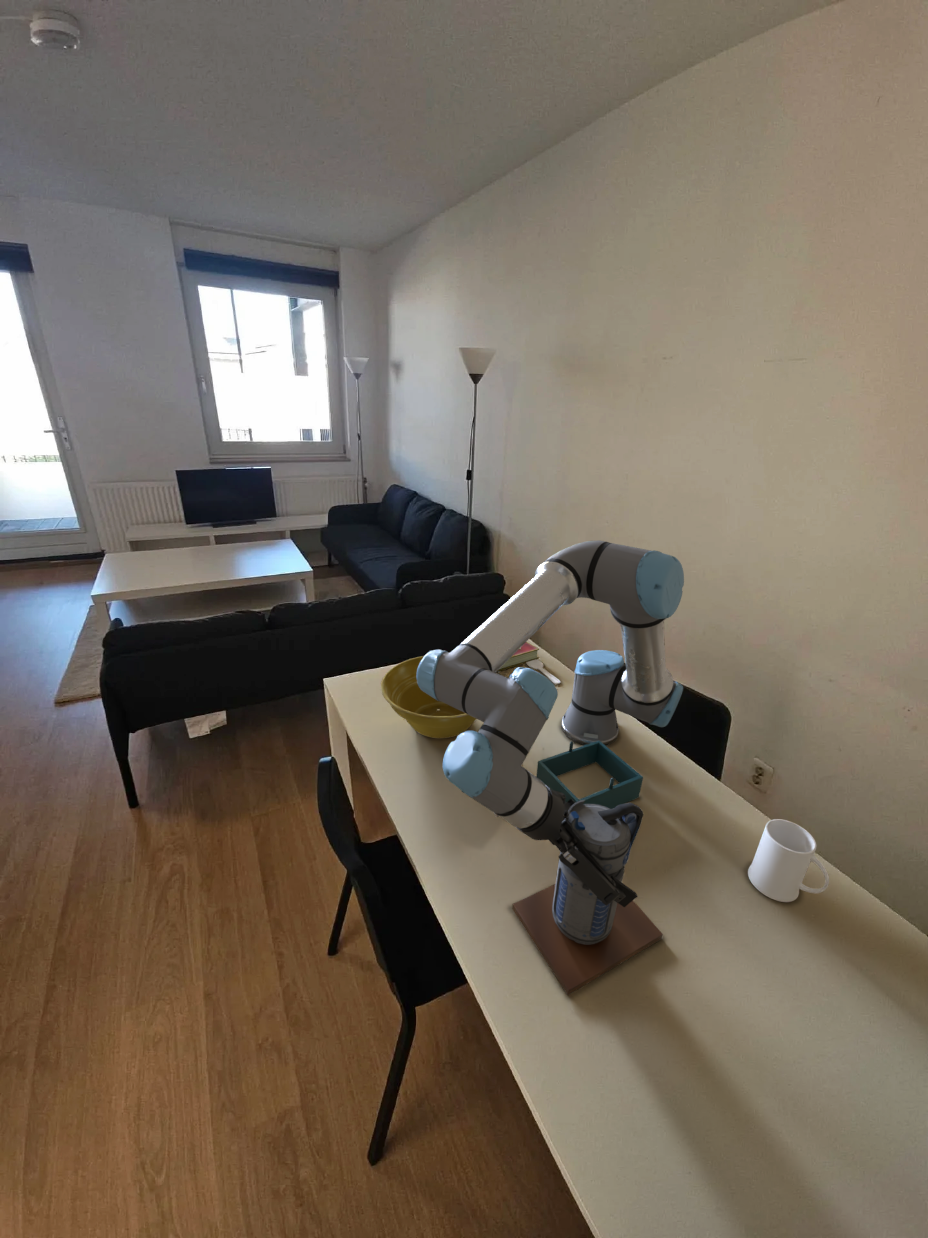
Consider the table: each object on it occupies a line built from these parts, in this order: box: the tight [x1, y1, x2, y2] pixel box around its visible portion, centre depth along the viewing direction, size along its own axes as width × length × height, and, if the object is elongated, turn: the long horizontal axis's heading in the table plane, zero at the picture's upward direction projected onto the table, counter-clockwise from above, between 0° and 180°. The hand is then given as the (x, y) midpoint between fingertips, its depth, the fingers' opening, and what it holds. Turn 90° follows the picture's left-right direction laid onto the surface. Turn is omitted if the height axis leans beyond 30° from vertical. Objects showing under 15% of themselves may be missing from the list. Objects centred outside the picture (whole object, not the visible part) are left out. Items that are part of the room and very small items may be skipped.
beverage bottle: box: [552, 800, 644, 945], centre depth 82 cm, size 10×13×25 cm
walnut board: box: [511, 883, 664, 996], centre depth 88 cm, size 20×16×1 cm
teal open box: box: [535, 740, 644, 809], centre depth 117 cm, size 19×15×9 cm
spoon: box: [525, 659, 561, 685], centre depth 169 cm, size 5×18×1 cm, turn 25°
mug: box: [747, 818, 830, 903], centre depth 93 cm, size 12×8×12 cm
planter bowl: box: [380, 655, 477, 739], centre depth 138 cm, size 32×32×13 cm
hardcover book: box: [496, 641, 540, 673], centre depth 175 cm, size 12×21×4 cm, turn 123°
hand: (609, 863), depth 83 cm, fingers open, 13 cm apart
